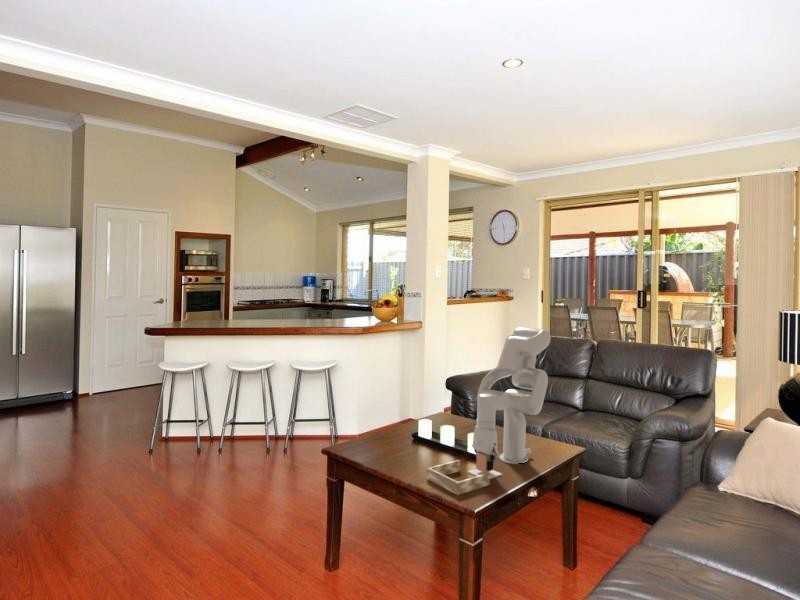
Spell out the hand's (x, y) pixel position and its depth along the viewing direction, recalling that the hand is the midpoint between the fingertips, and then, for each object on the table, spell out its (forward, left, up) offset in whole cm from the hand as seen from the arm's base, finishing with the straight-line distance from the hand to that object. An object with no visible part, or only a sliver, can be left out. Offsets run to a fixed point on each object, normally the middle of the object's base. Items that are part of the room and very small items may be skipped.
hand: (484, 467), depth 215 cm
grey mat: (0, 0, -3) cm, 3 cm away
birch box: (+15, 0, -3) cm, 15 cm away
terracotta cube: (0, 0, -1) cm, 1 cm away
